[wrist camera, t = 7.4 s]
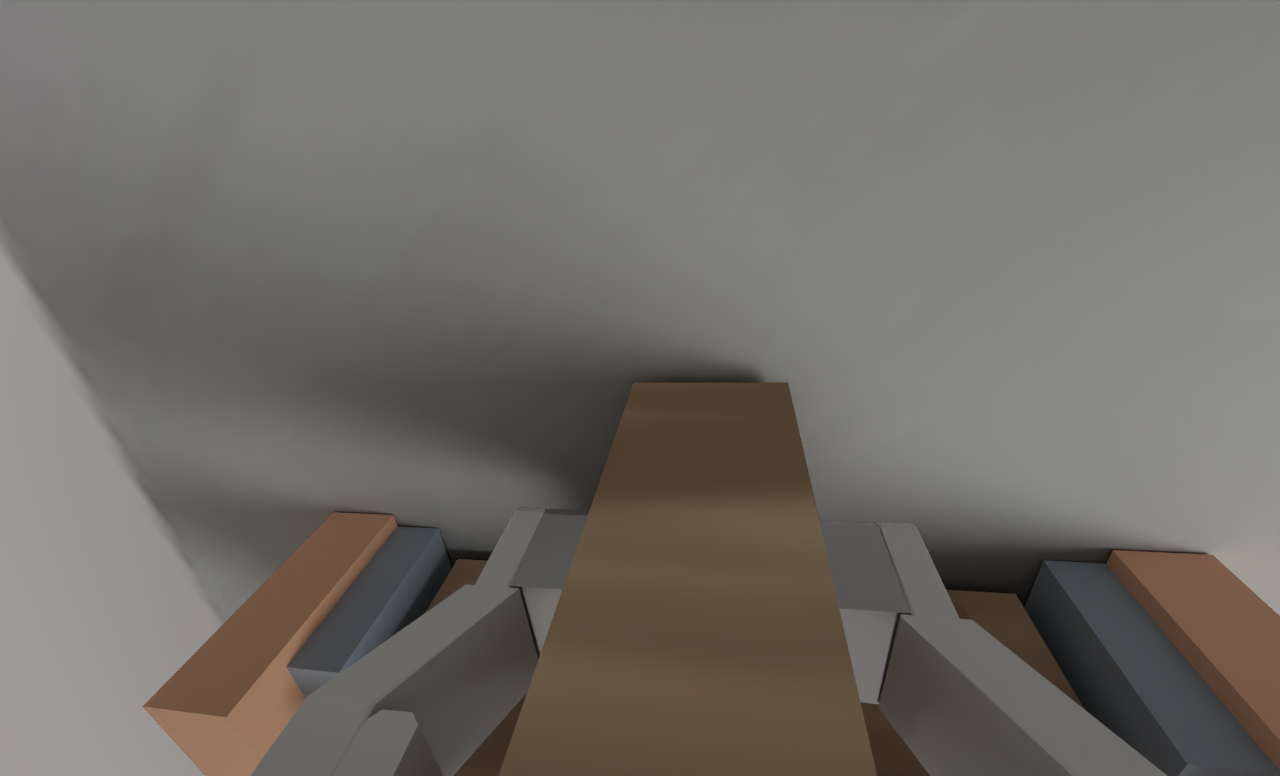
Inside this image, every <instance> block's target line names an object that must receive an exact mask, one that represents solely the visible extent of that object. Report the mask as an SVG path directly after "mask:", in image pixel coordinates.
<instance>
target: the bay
mask: <svg viewBox="0 0 1280 776" xmlns="http://www.w3.org/2000/svg"><path fill="white" fill-rule="evenodd" d="M451 569H452V566H451V563H450V560H449V557H448V554H447V552H446V549H445V546H444V543H443V540H442V537H441V534H440V531H439V529H437V528H418V527H399V526H397V524H396V521H395V519H394V516H393V515H381V514H360V513H340V512H333V513H332V514H331V515H330V516H329V517H328V518H327V519H326V520H325V521H324V522H323V523H322V524H321V525H320V526H319V527H318V528H317V529H316V530H315V531H314V532H313V533H312V534H311V535H310V536H309V537H308V538H307V539H306V541H305V542H304V543H303V544H302V545H301V546H300V547H299V548H298V549H297V550H296V551H295V552H294V553H293V554H292V555H291V556H290V557H289V558H288V559H287V560H286V561H285V562H284V563H283V564H282V565H281V566H280V567H279V568H278V569H277V570H276V571H275V572H274V573H273V574H272V575H271V576H270V577H269V578H268V579H267V580H266V581H265V582H264V583H263V584H262V585H261V586H260V587H259V588H258V589H257V590H256V592H255V593H254V594H253V595H252V596H251V597H250V598H249V599H248V600H247V601H246V602H245V603H244V604H243V605H242V606H241V607H240V608H239V609H238V610H237V611H236V612H235V613H234V614H233V615H232V616H231V617H230V618H229V619H228V620H227V621H226V622H225V623H224V624H223V625H222V626H221V627H220V628H219V629H218V630H217V631H216V632H215V634H213V635H212V636H211V637H210V638H209V639H208V641H207V642H206V643H205V644H204V645H203V646H202V647H201V648H200V649H199V650H198V651H197V652H196V653H195V654H194V655H193V656H192V657H191V658H190V659H189V660H188V661H187V662H186V663H185V664H184V665H183V666H182V667H181V668H180V669H179V670H178V671H177V672H176V673H175V674H174V675H173V676H172V677H171V678H170V679H169V680H168V681H167V682H166V683H165V684H164V685H163V686H162V687H161V688H160V689H159V691H157V693H156V694H155V695H154V696H153V697H152V698H151V699H150V700H149V701H148V702H147V703H146V704H145V705H144V706H143V707H144V708H145V710H146V711H147V712H148V713H149V714H150V715H151V716H152V717H153V718H154V720H155V721H156V722H157V723H158V724H159V725H160V726H161V727H162V728H163V729H164V731H165V732H166V733H167V734H168V735H169V736H170V737H171V738H172V739H173V740H174V742H176V744H177V745H178V746H179V747H180V748H181V749H182V750H183V751H184V753H185V754H186V755H187V756H188V757H189V758H190V759H191V760H192V761H193V763H194V764H195V765H196V766H197V767H198V768H199V769H200V770H201V771H202V772H203V774H204V775H207V776H250V775H251V774H252V772H253V771H254V770H255V768H256V767H257V765H258V764H259V763H260V761H261V760H262V758H263V757H264V756H265V754H266V753H267V752H268V750H269V749H270V747H271V746H272V745H273V743H274V742H275V740H276V739H277V738H278V736H279V735H280V733H281V732H282V731H283V729H284V728H285V727H286V725H287V724H288V722H289V721H290V720H291V718H292V717H293V715H294V714H295V713H296V711H297V710H298V708H299V707H300V706H301V704H302V703H303V702H304V700H305V699H306V697H307V696H309V695H310V694H311V693H313V692H314V691H316V690H317V689H318V688H320V687H321V686H323V685H324V684H326V683H327V682H328V681H330V680H331V679H333V678H334V677H335V676H337V675H338V674H340V673H341V672H343V671H344V670H345V669H347V668H348V667H350V666H351V665H352V664H354V663H355V662H357V661H358V660H360V659H361V658H362V657H364V656H365V655H367V654H368V653H369V652H371V651H372V650H374V649H375V648H376V647H378V646H379V645H381V644H382V643H384V642H385V641H386V640H388V639H389V638H391V637H392V636H393V635H395V634H396V633H398V632H399V631H401V630H402V629H403V628H405V627H406V626H408V625H409V624H410V623H412V622H413V621H415V620H416V619H418V618H419V617H420V616H422V615H423V614H425V612H426V611H427V609H428V607H429V606H430V604H431V602H432V601H433V599H434V597H435V596H436V594H437V592H438V591H439V589H440V587H441V586H442V584H443V582H444V581H445V579H446V577H447V576H448V574H449V572H450V571H451ZM1024 609H1025V610H1026V612H1027V614H1028V615H1029V617H1030V619H1031V620H1032V622H1033V624H1034V625H1035V627H1036V629H1037V630H1038V632H1039V634H1040V635H1041V637H1042V639H1043V640H1044V642H1045V644H1046V645H1047V647H1048V649H1049V650H1050V652H1051V654H1052V655H1053V657H1054V659H1055V660H1056V662H1057V664H1058V665H1059V667H1060V669H1061V670H1062V672H1063V674H1064V675H1065V677H1066V679H1067V680H1068V682H1069V684H1070V685H1071V687H1072V689H1073V690H1074V692H1075V694H1076V695H1077V697H1078V699H1079V700H1080V702H1081V704H1082V705H1083V707H1084V709H1085V710H1086V711H1087V712H1088V713H1090V714H1091V715H1092V716H1093V717H1095V718H1096V719H1097V720H1098V721H1100V722H1101V723H1102V724H1103V725H1105V726H1106V727H1107V728H1108V729H1110V730H1111V731H1112V732H1113V733H1115V734H1116V735H1117V736H1118V737H1120V738H1121V739H1122V740H1123V741H1125V742H1126V743H1127V744H1128V745H1130V746H1131V747H1132V748H1133V749H1135V750H1136V751H1137V752H1138V753H1140V754H1141V755H1142V756H1143V757H1145V758H1146V759H1147V760H1148V761H1150V762H1151V763H1152V764H1153V765H1155V766H1156V767H1157V768H1158V769H1160V770H1161V771H1162V772H1163V773H1165V774H1166V775H1167V776H1280V616H1279V615H1278V614H1277V613H1276V612H1275V611H1273V610H1272V609H1271V608H1270V607H1269V606H1268V605H1267V604H1266V603H1265V602H1264V601H1262V600H1261V599H1260V598H1259V597H1258V596H1257V595H1256V594H1255V593H1254V592H1253V591H1252V590H1250V589H1249V588H1248V587H1247V586H1246V585H1245V584H1244V583H1243V582H1242V581H1241V580H1239V579H1238V578H1237V577H1236V576H1235V575H1234V574H1233V573H1232V572H1231V571H1230V570H1229V569H1227V568H1226V567H1225V566H1224V565H1223V564H1222V563H1221V562H1220V561H1219V560H1218V559H1216V558H1215V557H1214V556H1213V555H1205V554H1184V553H1164V552H1143V551H1123V550H1112V552H1111V554H1110V556H1109V558H1108V560H1107V562H1106V564H1103V563H1084V562H1065V561H1046V560H1043V563H1042V565H1041V568H1040V570H1039V573H1038V575H1037V578H1036V580H1035V582H1034V585H1033V587H1032V590H1031V592H1030V595H1029V597H1028V600H1027V602H1026V605H1025V607H1024Z"/></svg>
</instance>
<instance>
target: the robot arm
mask: <svg viewBox="0 0 1280 776" xmlns="http://www.w3.org/2000/svg"><path fill="white" fill-rule="evenodd" d="M588 513H589V511H580V510H565V509H539V508H525V507H520V508H519V509H517V510H516V511H515V512H514V513H513V514H512V516H511V518H510V520H509V522H508V524H507V525H506V527H505V529H504V531H503V533H502V535H501V537H500V539H499V540H498V542H497V544H496V546H495V548H494V550H493V552H492V553H491V555H490V557H489V559H488V561H487V563H486V565H485V567H484V568H483V570H482V572H481V574H480V576H479V578H478V580H477V581H476V583H475V585H464V586H463V587H461V588H460V589H459V590H457V591H456V592H454V593H453V594H451V595H450V596H449V597H447V598H446V599H444V600H443V601H442V602H440V603H439V604H437V605H436V606H435V607H433V608H432V609H430V610H429V611H427V612H426V613H425V614H423V615H422V616H420V617H419V618H418V619H416V620H415V621H413V622H412V623H410V624H409V625H408V626H406V627H405V628H403V629H402V630H401V631H399V632H398V633H396V634H395V635H393V636H392V637H391V638H389V639H388V640H386V641H385V642H384V643H382V644H381V645H379V646H378V647H376V648H375V649H374V650H372V651H371V652H369V653H368V654H367V655H365V656H364V657H362V658H361V659H360V660H358V661H357V662H355V663H354V664H352V665H351V666H350V667H348V668H347V669H345V670H344V671H343V672H341V673H340V674H338V675H337V676H335V677H334V678H333V679H331V680H330V681H328V682H327V683H326V684H324V685H323V686H321V687H320V688H318V689H317V690H316V691H314V692H313V693H311V694H310V695H309V696H307V697H306V699H305V700H304V702H303V703H302V704H301V706H300V707H299V708H298V710H297V711H296V713H295V714H294V715H293V717H292V718H291V720H290V721H289V722H288V724H287V725H286V727H285V728H284V729H283V731H282V732H281V733H280V735H279V736H278V738H277V739H276V740H275V742H274V743H273V745H272V746H271V747H270V749H269V750H268V752H267V753H266V754H265V756H264V757H263V758H262V760H261V761H260V763H259V764H258V765H257V767H256V768H255V770H254V771H253V772H252V774H251V775H250V776H453V775H454V774H455V773H456V772H457V771H458V770H459V769H460V768H461V766H462V765H463V764H464V763H465V762H466V761H467V760H468V759H469V757H470V756H471V755H472V754H473V753H474V752H475V751H476V750H477V748H478V747H479V746H480V745H481V744H482V743H483V742H484V740H485V739H486V738H487V737H488V736H489V735H490V734H491V733H492V731H493V730H494V729H495V728H496V727H497V726H498V725H499V724H500V722H501V721H502V720H503V719H504V718H505V717H506V716H507V715H508V713H509V712H510V711H511V710H512V709H513V708H514V707H515V706H516V704H517V703H518V702H519V701H520V700H521V699H522V698H523V697H524V695H525V694H526V693H527V691H528V688H529V685H530V683H531V680H532V677H533V674H534V671H535V668H536V665H537V662H538V659H539V656H540V653H541V650H542V648H543V645H544V642H545V639H546V636H547V633H548V630H549V627H550V624H551V621H552V618H553V615H554V613H555V610H556V607H557V604H558V601H559V598H560V595H561V592H562V589H563V586H564V583H565V580H566V578H567V575H568V572H569V569H570V566H571V563H572V560H573V557H574V554H575V551H576V548H577V545H578V543H579V540H580V537H581V534H582V531H583V528H584V525H585V522H586V519H587V516H588ZM819 522H820V526H821V531H822V535H823V539H824V544H825V548H826V553H827V557H828V561H829V566H830V570H831V575H832V579H833V583H834V588H835V592H836V597H837V601H838V605H839V610H840V614H841V619H842V623H843V627H844V632H845V636H846V641H847V645H848V650H849V654H850V658H851V663H852V667H853V672H854V676H855V680H856V685H857V689H858V694H859V698H860V702H864V703H872V704H879V706H878V708H879V709H880V710H881V712H882V713H883V714H884V716H885V717H886V718H887V720H888V721H889V722H890V724H891V725H892V726H893V728H894V729H895V730H896V731H897V733H898V734H899V735H900V737H901V738H902V739H903V741H904V742H905V743H906V745H907V746H908V747H909V749H910V750H911V751H912V752H913V754H914V755H915V756H916V758H917V759H918V760H919V762H920V763H921V764H922V766H923V767H924V768H925V770H926V771H927V772H928V774H929V775H930V776H1167V775H1166V774H1165V773H1163V772H1162V771H1161V770H1160V769H1158V768H1157V767H1156V766H1155V765H1153V764H1152V763H1151V762H1150V761H1148V760H1147V759H1146V758H1145V757H1143V756H1142V755H1141V754H1140V753H1138V752H1137V751H1136V750H1135V749H1133V748H1132V747H1131V746H1130V745H1128V744H1127V743H1126V742H1125V741H1123V740H1122V739H1121V738H1120V737H1118V736H1117V735H1116V734H1115V733H1113V732H1112V731H1111V730H1110V729H1108V728H1107V727H1106V726H1105V725H1103V724H1102V723H1101V722H1100V721H1098V720H1097V719H1096V718H1095V717H1093V716H1092V715H1091V714H1090V713H1088V712H1087V711H1086V710H1085V709H1083V708H1082V707H1081V706H1080V705H1078V704H1077V703H1076V702H1075V701H1073V700H1072V699H1071V698H1070V697H1068V696H1067V695H1066V694H1065V693H1063V692H1062V691H1061V690H1060V689H1058V688H1057V687H1056V686H1055V685H1053V684H1052V683H1051V682H1049V681H1048V680H1047V679H1046V678H1044V677H1043V676H1042V675H1041V674H1039V673H1038V672H1037V671H1036V670H1034V669H1033V668H1032V667H1031V666H1029V665H1028V664H1027V663H1026V662H1024V661H1023V660H1022V659H1021V658H1019V657H1018V656H1017V655H1016V654H1014V653H1013V652H1012V651H1011V650H1009V649H1008V648H1007V647H1006V646H1004V645H1003V644H1002V643H1001V642H999V641H998V640H997V639H996V638H994V637H993V636H992V635H991V634H989V633H988V632H987V631H986V630H984V629H983V628H982V627H981V626H979V625H978V624H977V623H976V622H974V621H973V620H969V619H960V618H959V616H958V614H957V612H956V610H955V608H954V606H953V603H952V601H951V599H950V597H949V595H948V593H947V591H946V589H945V586H944V584H943V582H942V580H941V578H940V576H939V574H938V571H937V569H936V567H935V565H934V563H933V561H932V559H931V556H930V554H929V552H928V550H927V548H926V546H925V544H924V542H923V539H922V537H921V535H920V533H919V531H918V529H917V528H916V527H915V526H914V525H913V524H912V523H882V522H875V523H868V522H838V521H819Z"/></svg>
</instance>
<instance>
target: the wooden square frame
mask: <svg viewBox="0 0 1280 776" xmlns="http://www.w3.org/2000/svg"><path fill="white" fill-rule="evenodd" d="M486 563H487V561H483V560H468V559H457V561H456V562H455V564H454V566H453V567H452V569H451V571H450V572H449V574H448V576H447V577H446V579H445V581H444V582H443V584H442V586H441V587H440V589H439V591H438V592H437V594H436V596H435V597H434V599H433V601H432V602H431V604H430V606H429V607H428V609H427V611H429V610H430V609H432V608H433V607H435V606H436V605H437V604H439V603H440V602H442V601H443V600H444V599H446V598H447V597H449V596H450V595H451V594H453V593H454V592H456V591H457V590H459V589H460V588H461V587H463V586H464V585H475V583H476V581H477V580H478V578H479V576H480V574H481V572H482V570H483V568H484V567H485V565H486ZM946 591H947V593H948V595H949V597H950V599H951V601H952V603H953V606H954V608H955V610H956V612H957V614H958V616H959V618H960V619H969V620H973V621H974V622H976V623H977V624H978V625H979V626H981V627H982V628H983V629H984V630H986V631H987V632H988V633H989V634H991V635H992V636H993V637H994V638H996V639H997V640H998V641H999V642H1001V643H1002V644H1003V645H1004V646H1006V647H1007V648H1008V649H1009V650H1011V651H1012V652H1013V653H1014V654H1016V655H1017V656H1018V657H1019V658H1021V659H1022V660H1023V661H1024V662H1026V663H1027V664H1028V665H1029V666H1031V667H1032V668H1033V669H1034V670H1036V671H1037V672H1038V673H1039V674H1041V675H1042V676H1043V677H1044V678H1046V679H1047V680H1048V681H1049V682H1051V683H1052V684H1053V685H1055V686H1056V687H1057V688H1058V689H1060V690H1061V691H1062V692H1063V693H1065V694H1066V695H1067V696H1068V697H1070V698H1071V699H1072V700H1073V701H1075V702H1076V703H1077V704H1078V705H1080V706H1081V707H1082V708H1083V709H1084V707H1083V705H1082V704H1081V702H1080V700H1079V699H1078V697H1077V695H1076V694H1075V692H1074V690H1073V689H1072V687H1071V685H1070V684H1069V682H1068V680H1067V679H1066V677H1065V675H1064V674H1063V672H1062V670H1061V669H1060V667H1059V665H1058V664H1057V662H1056V660H1055V659H1054V657H1053V655H1052V654H1051V652H1050V650H1049V649H1048V647H1047V645H1046V644H1045V642H1044V640H1043V639H1042V637H1041V635H1040V634H1039V632H1038V630H1037V629H1036V627H1035V625H1034V624H1033V622H1032V620H1031V619H1030V617H1029V615H1028V614H1027V612H1026V610H1025V609H1024V607H1023V605H1022V604H1021V602H1020V600H1019V599H1018V597H1017V595H1016V594H1008V593H992V592H976V591H960V590H946ZM427 611H426V612H427ZM426 612H425V613H426ZM878 706H879V704H872V703H864V702H860V698H859V694H858V689H857V685H856V680H855V676H854V672H853V667H852V663H851V658H850V654H849V650H848V645H847V641H846V636H845V632H844V627H843V623H842V619H841V614H840V610H839V605H838V601H837V597H836V592H835V588H834V583H833V579H832V575H831V570H830V566H829V561H828V557H827V553H826V548H825V544H824V539H823V535H822V531H821V526H820V522H819V517H818V513H817V508H816V504H815V500H814V495H813V491H812V486H811V482H810V478H809V473H808V469H807V464H806V460H805V456H804V451H803V447H802V442H801V438H800V434H799V429H798V425H797V420H796V416H795V411H794V407H793V403H792V398H791V394H790V389H789V385H788V383H633V385H632V388H631V391H630V394H629V397H628V400H627V402H626V405H625V408H624V411H623V414H622V417H621V420H620V423H619V426H618V429H617V432H616V435H615V437H614V440H613V443H612V446H611V449H610V452H609V455H608V458H607V461H606V464H605V467H604V470H603V472H602V475H601V478H600V481H599V484H598V487H597V490H596V493H595V496H594V499H593V502H592V505H591V508H590V510H589V513H588V516H587V519H586V522H585V525H584V528H583V531H582V534H581V537H580V540H579V543H578V545H577V548H576V551H575V554H574V557H573V560H572V563H571V566H570V569H569V572H568V575H567V578H566V580H565V583H564V586H563V589H562V592H561V595H560V598H559V601H558V604H557V607H556V610H555V613H554V615H553V618H552V621H551V624H550V627H549V630H548V633H547V636H546V639H545V642H544V645H543V648H542V650H541V653H540V656H539V659H538V662H537V665H536V668H535V671H534V674H533V677H532V680H531V683H530V685H529V688H528V691H527V693H526V694H525V695H524V697H523V698H522V699H521V700H520V701H519V702H518V703H517V704H516V706H515V707H514V708H513V709H512V710H511V711H510V712H509V713H508V715H507V716H506V717H505V718H504V719H503V720H502V721H501V722H500V724H499V725H498V726H497V727H496V728H495V729H494V730H493V731H492V733H491V734H490V735H489V736H488V737H487V738H486V739H485V740H484V742H483V743H482V744H481V745H480V746H479V747H478V748H477V750H476V751H475V752H474V753H473V754H472V755H471V756H470V757H469V759H468V760H467V761H466V762H465V763H464V764H463V765H462V766H461V768H460V769H459V770H458V771H457V772H456V773H455V774H454V775H453V776H930V775H929V774H928V772H927V771H926V770H925V768H924V767H923V766H922V764H921V763H920V762H919V760H918V759H917V758H916V756H915V755H914V754H913V752H912V751H911V750H910V749H909V747H908V746H907V745H906V743H905V742H904V741H903V739H902V738H901V737H900V735H899V734H898V733H897V731H896V730H895V729H894V728H893V726H892V725H891V724H890V722H889V721H888V720H887V718H886V717H885V716H884V714H883V713H882V712H881V710H880V709H879V708H878Z"/></svg>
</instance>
